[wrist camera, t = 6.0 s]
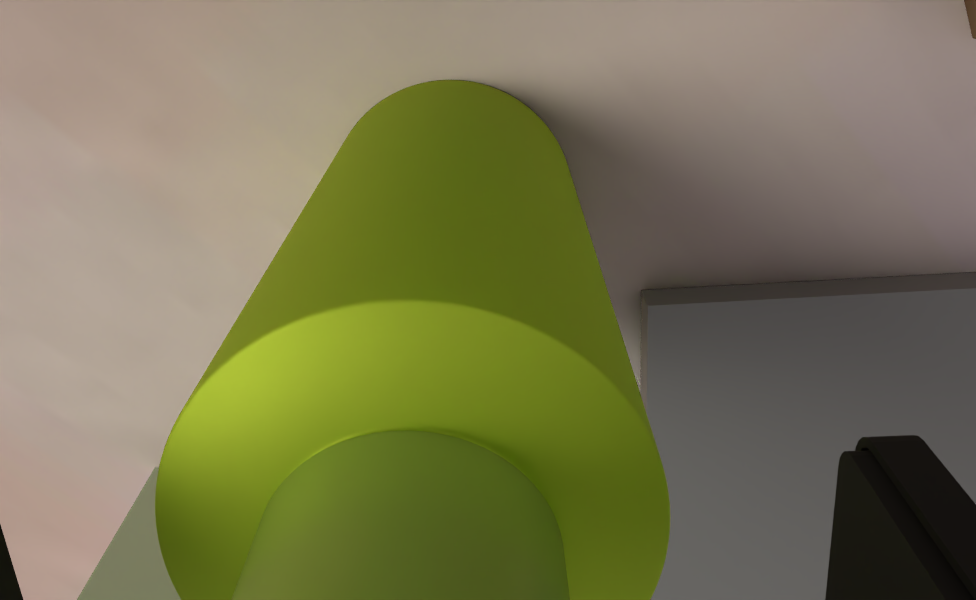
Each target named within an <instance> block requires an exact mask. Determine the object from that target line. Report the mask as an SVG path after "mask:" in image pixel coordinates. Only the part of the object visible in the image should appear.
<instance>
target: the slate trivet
mask: <svg viewBox="0 0 976 600" xmlns="http://www.w3.org/2000/svg"><path fill="white" fill-rule="evenodd" d="M641 398H642V401H643V404H644V407H645V411H646V414H647V417H648V420H649V423H650V426H651V429H652V433H653V436H654V439H655V442H656V445H657V448H658V451H659V455H660V458H661V461H662V465H663V468H664V472H665V476H666V481H667V486H668V492H669V501H670V535H669V543H668V549H667V554H666V559H665V563H664V566H663V570H662V573H661V576H660V579H659V581H658V584H657V587H656V589H655V591H654V593H653V595H652V597H651V599H650V600H825V597H826V587H827V577H828V567H829V557H830V546H831V536H832V526H833V516H834V505H835V495H836V485H837V475H838V465H839V459H840V456H841V454H842V453H843V452H844V451H855V448H856V445H857V443H858V441H859V440H860V439H861V438H862V437H876V436H901V435H917V436H919V437H920V438H921V439H923V440H924V441H925V443H926V444H927V445H928V446H929V447H930V449H931V450H932V451H933V452H934V454H935V455H936V456H937V457H938V459H939V460H940V461H941V462H942V463H943V465H944V466H945V467H946V468H947V470H948V471H949V472H950V473H951V474H952V476H953V477H954V478H955V479H956V481H957V482H958V483H959V484H960V485H961V487H962V488H963V489H964V490H965V492H966V493H967V494H968V495H969V497H970V498H971V499H972V500H973V501H974V503H975V504H976V272H969V273H951V274H932V275H914V276H895V277H877V278H858V279H840V280H821V281H803V282H784V283H766V284H747V285H729V286H710V287H692V288H673V289H655V290H642V292H641Z"/></svg>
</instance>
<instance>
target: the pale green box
mask: <svg viewBox="0 0 976 600" xmlns="http://www.w3.org/2000/svg"><path fill="white" fill-rule="evenodd" d="M158 470H159V468H157V467H155V468H154V470H153V472H152V474H151V475H150V477H149V479H148V480H147V482H146V484H145V485H144V487H143V489H142V490H141V492H140V494H139V496H138V497H137V499H136V501H135V502H134V504H133V506H132V507H131V509H130V511H129V512H128V514H127V516H126V518H125V519H124V521H123V523H122V524H121V526H120V528H119V529H118V531H117V533H116V534H115V536H114V538H113V540H112V541H111V543H110V545H109V546H108V548H107V550H106V551H105V553H104V555H103V556H102V558H101V560H100V562H99V563H98V565H97V567H96V568H95V570H94V572H93V573H92V575H91V577H90V578H89V580H88V582H87V584H86V585H85V587H84V589H83V590H82V592H81V594H80V595H79V597H78V599H77V600H181V598H180V597H179V595H178V593H177V591H176V589H175V587H174V585H173V583H172V581H171V579H170V576H169V574H168V571H167V569H166V566H165V563H164V560H163V557H162V553H161V549H160V545H159V541H158V535H157V528H156V518H155V492H156V482H157V476H158Z"/></svg>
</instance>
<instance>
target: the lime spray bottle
mask: <svg viewBox="0 0 976 600" xmlns="http://www.w3.org/2000/svg"><path fill="white" fill-rule="evenodd" d="M155 518H156V528H157V535H158V541H159V545H160V549H161V553H162V557H163V560H164V563H165V566H166V569H167V571H168V574H169V576H170V579H171V581H172V583H173V585H174V587H175V589H176V591H177V593H178V595H179V597H180V598H181V600H650V599H651V597H652V595H653V593H654V591H655V589H656V587H657V584H658V581H659V579H660V576H661V573H662V570H663V566H664V563H665V559H666V554H667V549H668V543H669V535H670V501H669V492H668V486H667V481H666V476H665V472H664V468H663V465H662V461H661V458H660V455H659V451H658V448H657V445H656V442H655V439H654V436H653V433H652V429H651V426H650V423H649V420H648V417H647V414H646V411H645V407H644V404H643V401H642V398H641V395H640V392H639V388H638V385H637V382H636V379H635V376H634V373H633V370H632V366H631V363H630V360H629V357H628V354H627V351H626V347H625V344H624V341H623V338H622V335H621V332H620V329H619V325H618V322H617V319H616V316H615V313H614V310H613V306H612V303H611V300H610V297H609V294H608V291H607V288H606V284H605V281H604V278H603V275H602V272H601V269H600V265H599V262H598V259H597V256H596V253H595V250H594V247H593V243H592V240H591V237H590V234H589V231H588V228H587V224H586V221H585V218H584V215H583V212H582V209H581V206H580V202H579V199H578V196H577V193H576V190H575V187H574V184H573V180H572V177H571V174H570V171H569V168H568V165H567V162H566V159H565V156H564V154H563V152H562V149H561V147H560V145H559V143H558V142H557V140H556V138H555V137H554V135H553V134H552V132H551V131H550V129H549V128H548V127H547V126H546V124H545V123H544V122H543V121H542V120H541V119H540V118H539V117H538V116H537V115H536V114H535V113H534V112H533V111H532V110H531V109H530V108H528V107H527V106H526V105H524V104H523V103H522V102H520V101H519V100H517V99H516V98H514V97H512V96H511V95H509V94H507V93H505V92H503V91H500V90H498V89H495V88H493V87H490V86H487V85H483V84H479V83H475V82H470V81H461V80H439V81H431V82H425V83H421V84H417V85H414V86H410V87H408V88H405V89H402V90H400V91H398V92H396V93H394V94H392V95H390V96H388V97H387V98H385V99H384V100H382V101H381V102H379V103H378V104H376V105H375V106H374V107H373V108H371V109H370V110H369V111H368V112H367V113H366V114H365V115H364V116H363V117H362V118H361V119H360V120H359V121H358V122H357V124H356V125H355V126H354V128H353V129H352V130H351V132H350V133H349V135H348V136H347V138H346V140H345V141H344V143H343V145H342V146H341V148H340V150H339V151H338V153H337V155H336V156H335V158H334V159H333V161H332V163H331V164H330V166H329V168H328V169H327V171H326V173H325V174H324V176H323V178H322V179H321V181H320V183H319V184H318V186H317V188H316V189H315V191H314V193H313V194H312V196H311V198H310V199H309V201H308V202H307V204H306V206H305V207H304V209H303V211H302V212H301V214H300V216H299V217H298V219H297V221H296V222H295V224H294V226H293V227H292V229H291V231H290V232H289V234H288V236H287V237H286V239H285V241H284V242H283V244H282V246H281V247H280V249H279V250H278V252H277V254H276V255H275V257H274V259H273V260H272V262H271V264H270V265H269V267H268V269H267V270H266V272H265V274H264V275H263V277H262V279H261V280H260V282H259V284H258V285H257V287H256V289H255V290H254V292H253V293H252V295H251V297H250V298H249V300H248V302H247V303H246V305H245V307H244V308H243V310H242V312H241V313H240V315H239V317H238V318H237V320H236V322H235V323H234V325H233V327H232V328H231V330H230V332H229V333H228V335H227V337H226V338H225V340H224V341H223V343H222V345H221V346H220V348H219V350H218V351H217V353H216V355H215V356H214V358H213V360H212V361H211V363H210V365H209V366H208V368H207V370H206V371H205V373H204V375H203V376H202V378H201V380H200V381H199V383H198V385H197V386H196V388H195V389H194V391H193V393H192V394H191V396H190V398H189V399H188V401H187V403H186V404H185V406H184V408H183V409H182V411H181V413H180V414H179V416H178V418H177V420H176V422H175V424H174V426H173V428H172V430H171V433H170V435H169V437H168V440H167V443H166V445H165V448H164V451H163V454H162V458H161V462H160V466H159V470H158V476H157V482H156V492H155Z"/></svg>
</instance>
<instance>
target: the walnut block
mask: <svg viewBox="0 0 976 600" xmlns="http://www.w3.org/2000/svg"><path fill="white" fill-rule="evenodd" d="M964 2H965V6H966V11H967V15H968V20H969V24H970V28H971V33H972V37H973V38H974V39H976V0H964Z"/></svg>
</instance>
